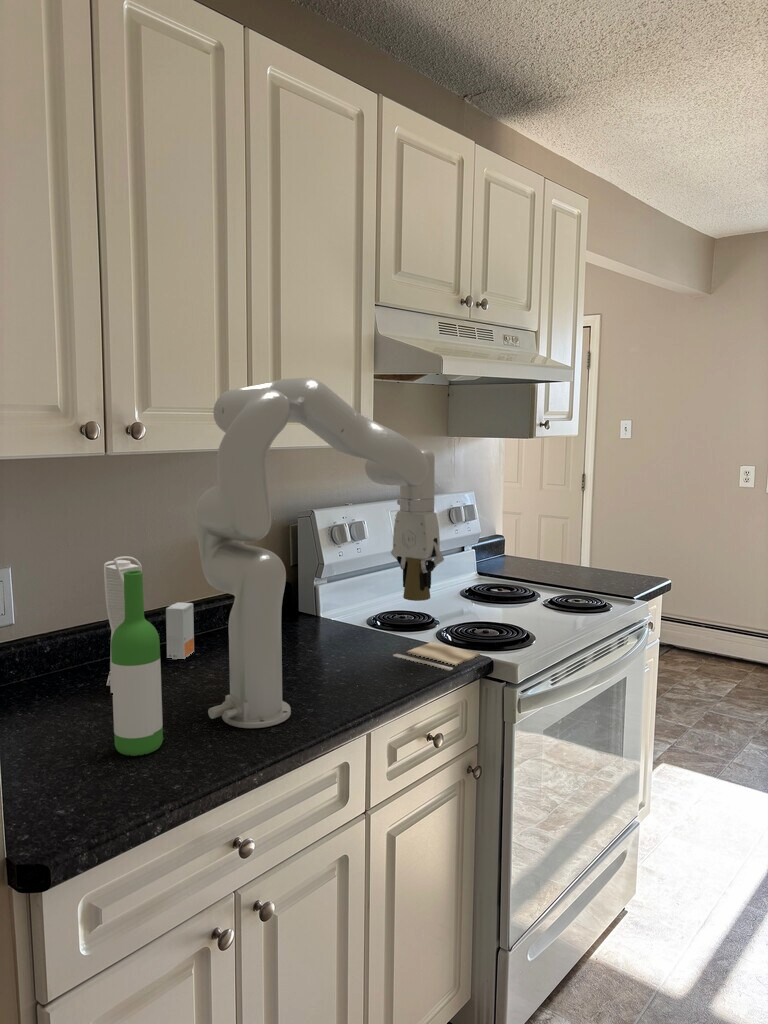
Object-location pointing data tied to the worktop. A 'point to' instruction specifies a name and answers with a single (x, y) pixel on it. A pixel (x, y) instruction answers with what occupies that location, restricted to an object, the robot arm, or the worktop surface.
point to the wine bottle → (136, 676)
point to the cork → (414, 582)
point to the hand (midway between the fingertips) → (416, 587)
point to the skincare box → (180, 630)
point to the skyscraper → (116, 592)
